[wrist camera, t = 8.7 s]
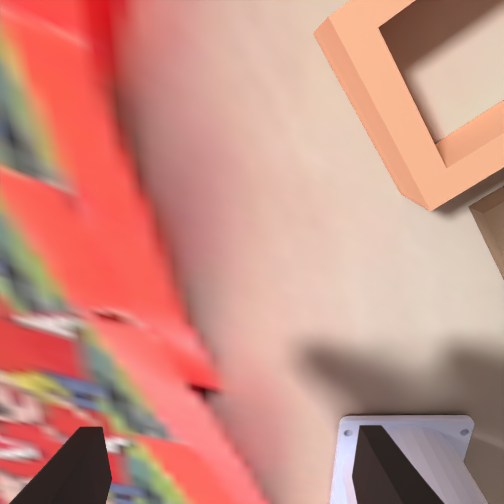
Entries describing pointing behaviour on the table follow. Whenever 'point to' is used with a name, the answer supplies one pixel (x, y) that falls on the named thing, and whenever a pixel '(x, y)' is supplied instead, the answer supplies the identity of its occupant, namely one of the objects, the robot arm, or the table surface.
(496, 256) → the stand base
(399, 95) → the c link
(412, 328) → the table surface
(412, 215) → the table surface
